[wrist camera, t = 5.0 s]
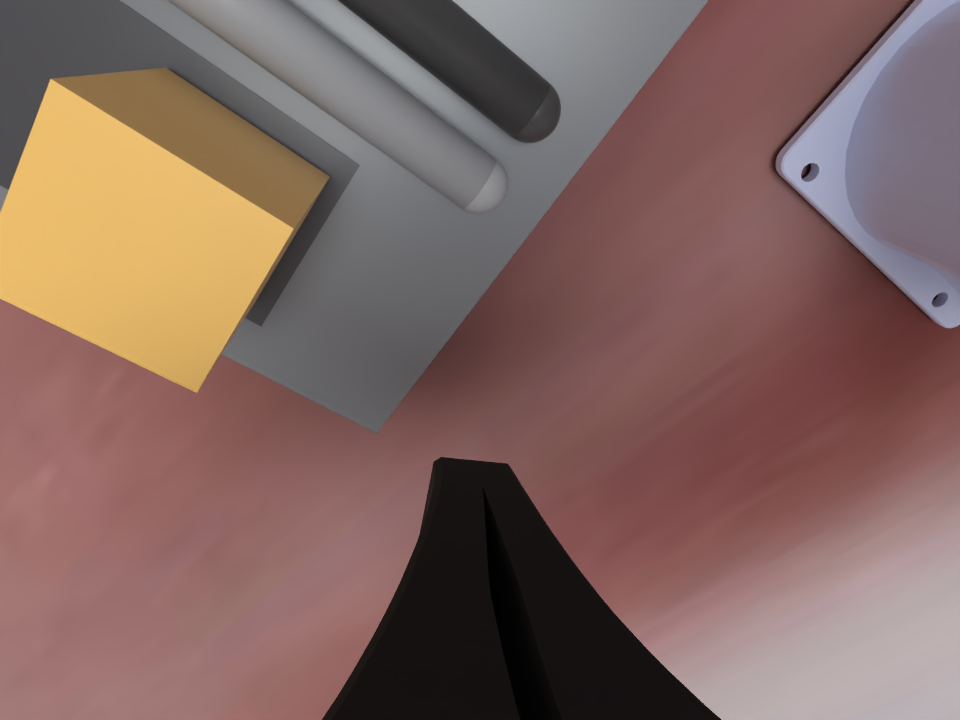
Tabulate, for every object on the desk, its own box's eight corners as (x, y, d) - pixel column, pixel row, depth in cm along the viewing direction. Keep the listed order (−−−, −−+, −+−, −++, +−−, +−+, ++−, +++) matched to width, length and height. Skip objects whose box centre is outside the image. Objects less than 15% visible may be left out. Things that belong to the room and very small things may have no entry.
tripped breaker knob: (330, 176, 14) (294, 228, 10) (254, 303, 15) (196, 392, 11) (166, 67, 13) (50, 78, 9) (99, 217, 14) (-27, 285, 10)
